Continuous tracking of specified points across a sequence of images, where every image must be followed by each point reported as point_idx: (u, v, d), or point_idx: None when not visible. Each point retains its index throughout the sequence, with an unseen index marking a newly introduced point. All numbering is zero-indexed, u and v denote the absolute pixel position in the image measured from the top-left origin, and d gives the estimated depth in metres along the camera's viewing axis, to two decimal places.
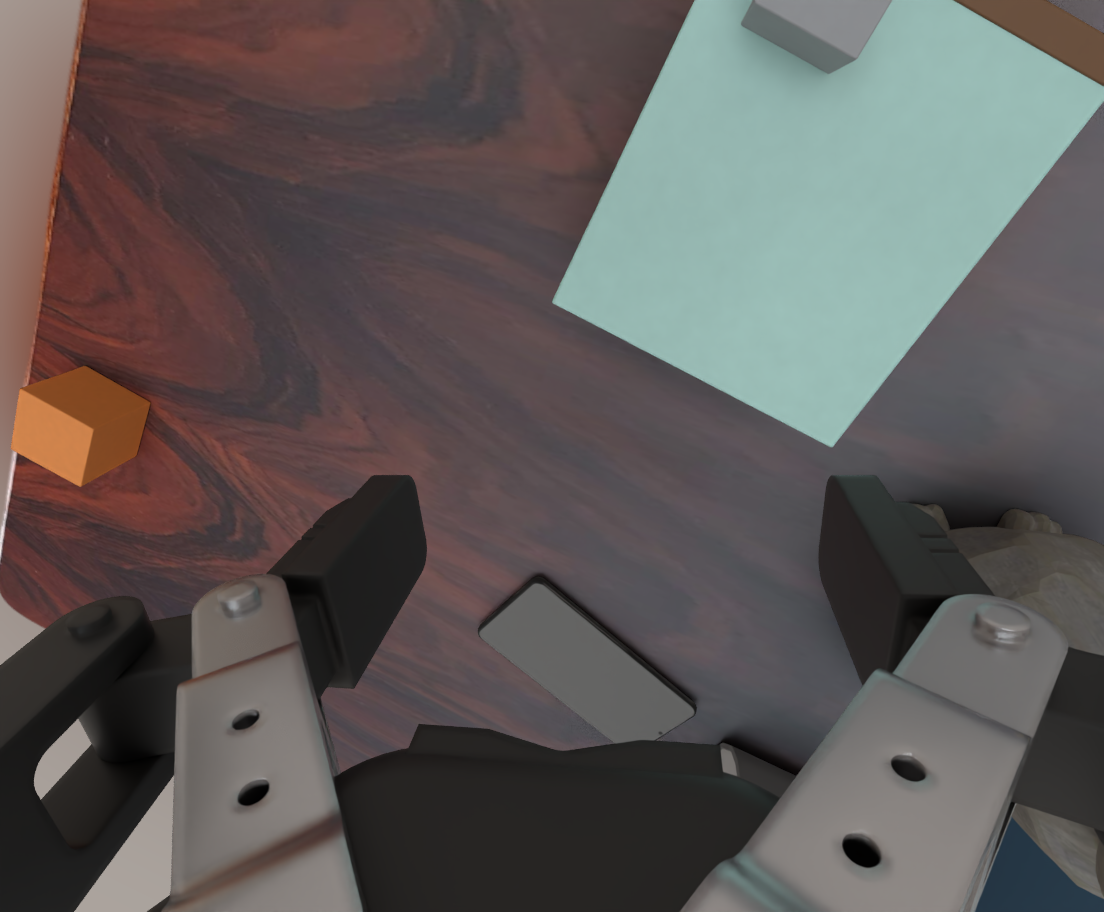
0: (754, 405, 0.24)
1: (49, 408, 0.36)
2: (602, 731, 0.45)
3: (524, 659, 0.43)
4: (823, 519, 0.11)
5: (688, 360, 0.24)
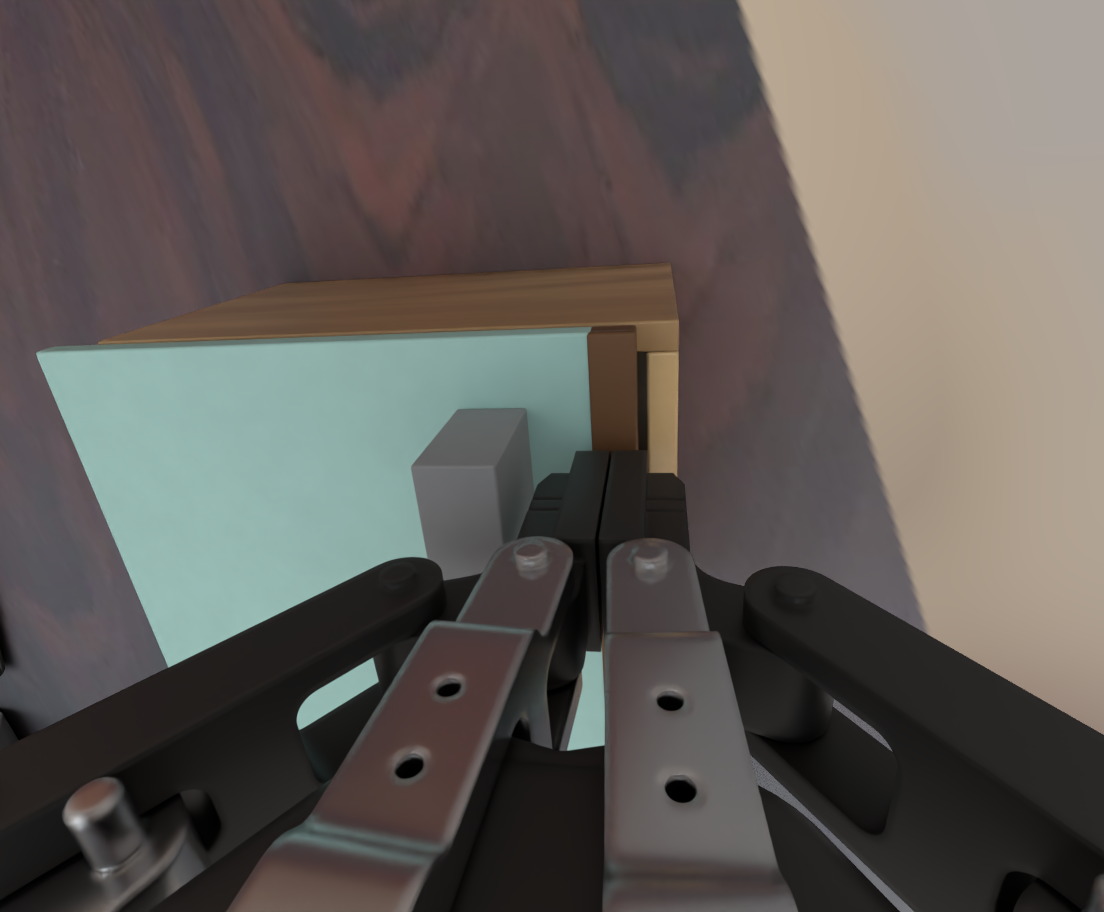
0: (158, 640, 0.19)
1: None
2: None
3: None
4: None
5: (132, 552, 0.17)
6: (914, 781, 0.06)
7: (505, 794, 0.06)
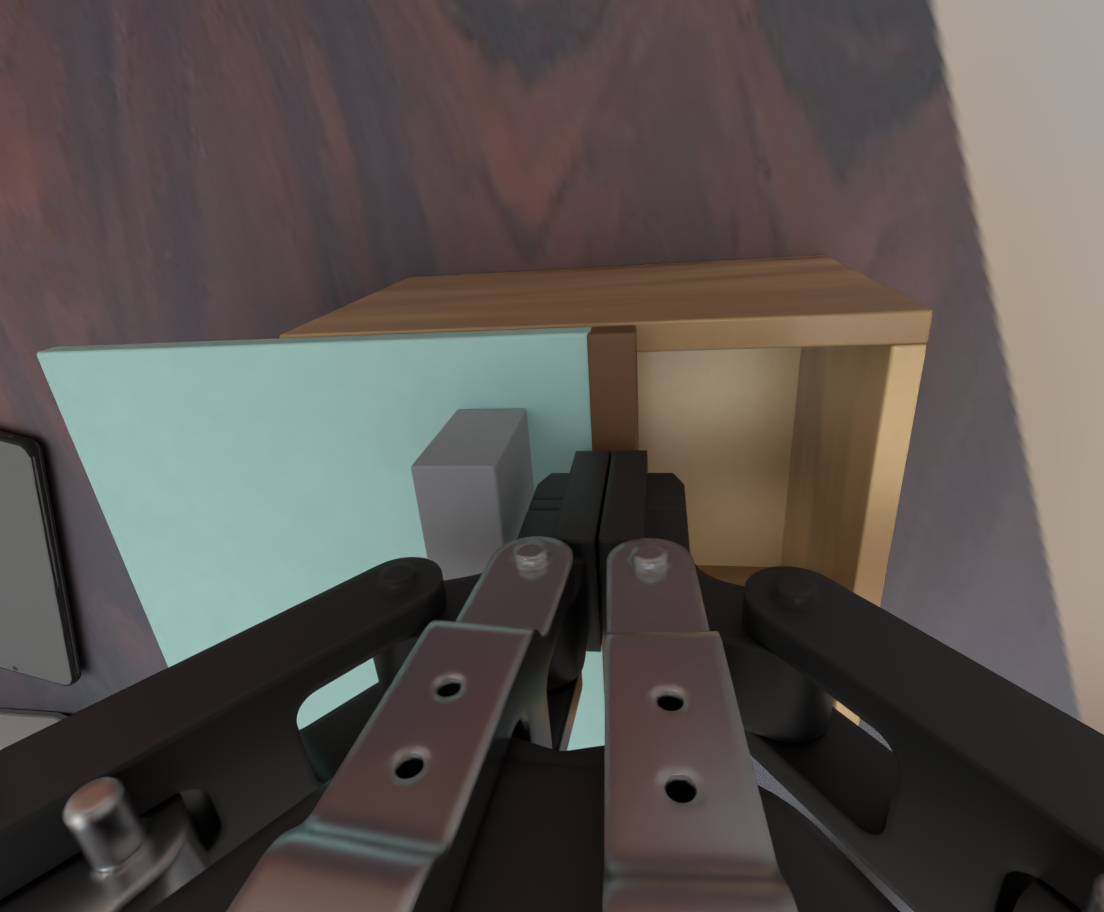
0: (158, 640, 0.19)
1: None
2: None
3: None
4: None
5: (133, 552, 0.17)
6: (914, 781, 0.06)
7: (505, 794, 0.06)
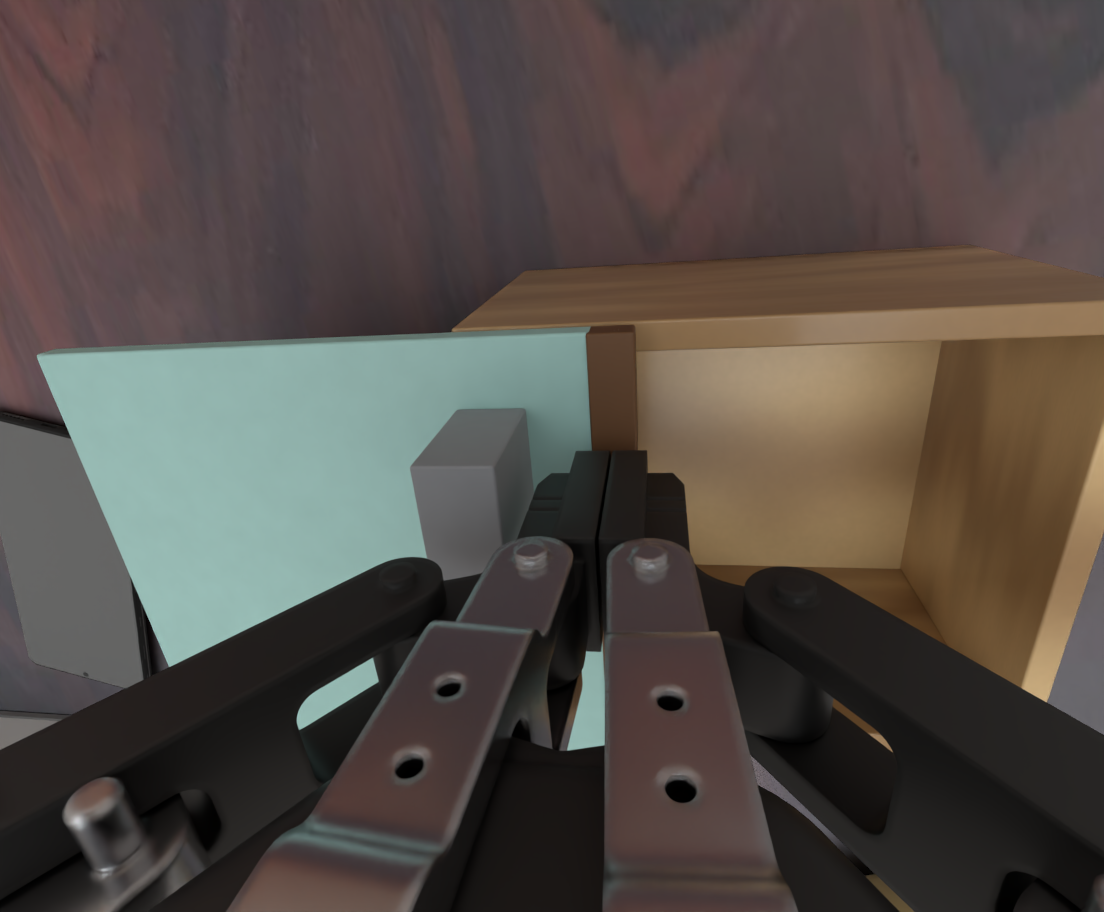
0: (159, 642, 0.19)
1: None
2: (23, 621, 0.32)
3: (6, 490, 0.29)
4: None
5: (133, 553, 0.17)
6: (914, 781, 0.06)
7: (505, 794, 0.06)
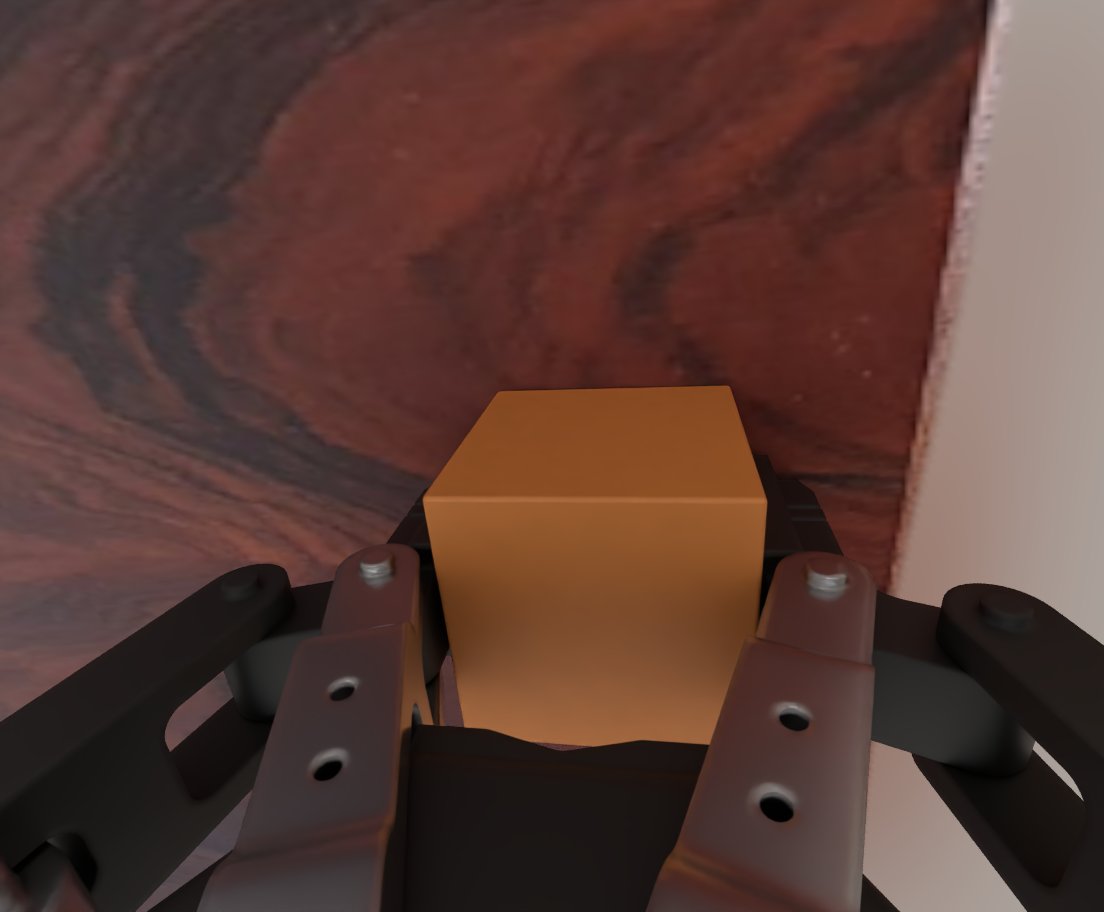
0: None
1: (624, 740, 0.10)
2: None
3: None
4: None
5: None
6: (1103, 838, 0.06)
7: (421, 770, 0.06)
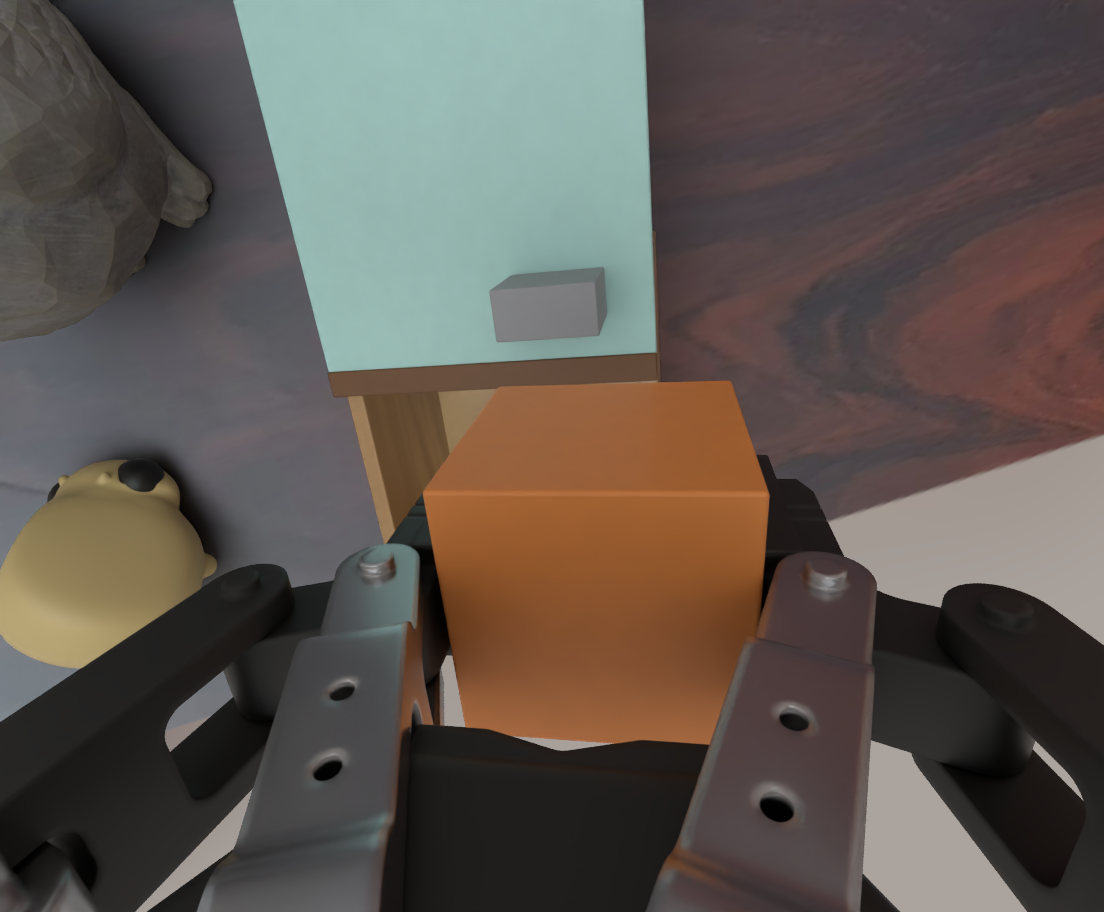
0: None
1: (625, 735, 0.10)
2: None
3: None
4: None
5: None
6: (1103, 838, 0.06)
7: (421, 770, 0.06)
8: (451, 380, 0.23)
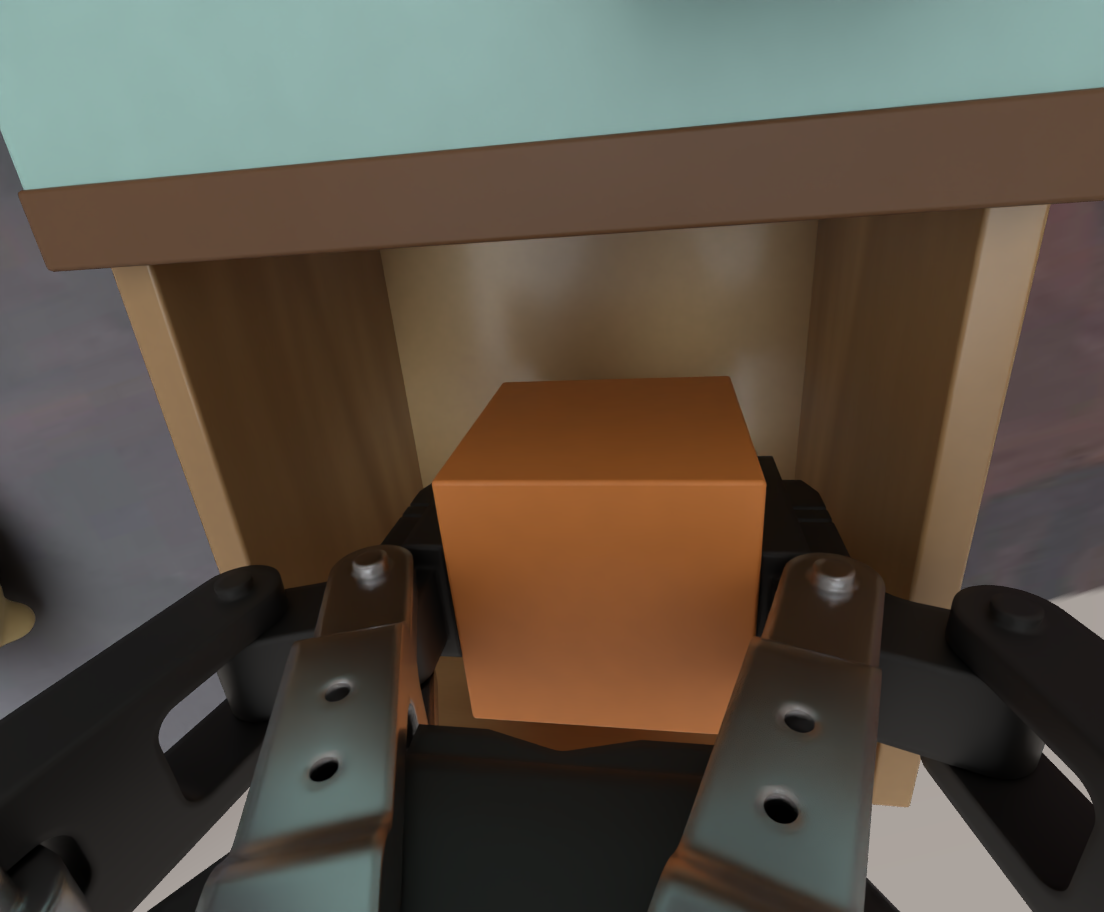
0: None
1: (627, 718, 0.10)
2: None
3: None
4: None
5: None
6: None
7: (417, 770, 0.06)
8: (387, 210, 0.07)
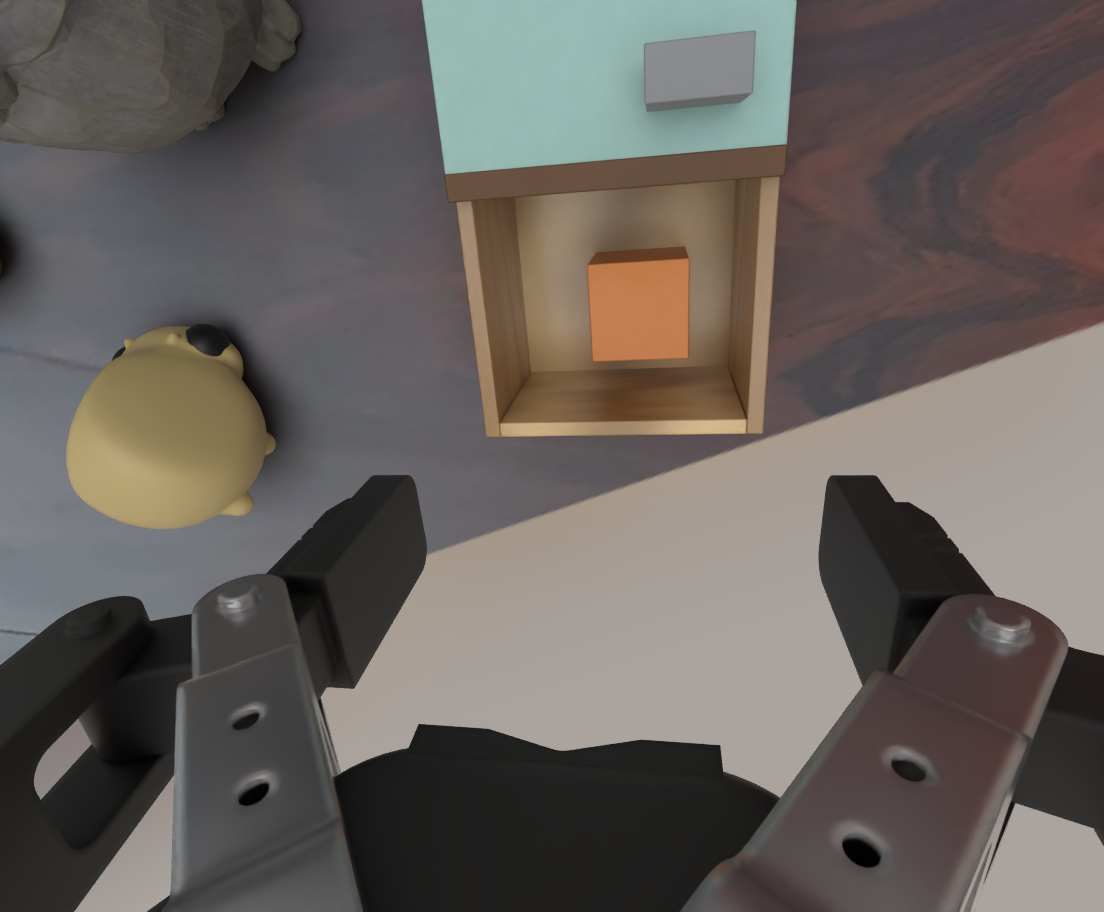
0: None
1: (647, 355, 0.30)
2: None
3: None
4: (823, 519, 0.11)
5: None
6: None
7: (345, 775, 0.06)
8: (572, 180, 0.23)
